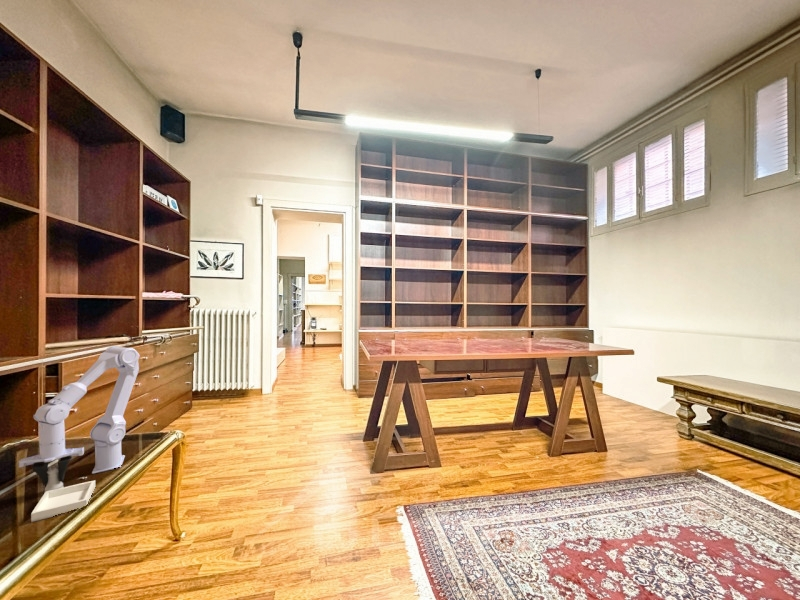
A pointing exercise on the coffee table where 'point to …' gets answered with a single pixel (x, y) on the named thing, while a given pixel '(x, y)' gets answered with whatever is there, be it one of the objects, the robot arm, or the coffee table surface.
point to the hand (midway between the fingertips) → (53, 481)
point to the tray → (63, 500)
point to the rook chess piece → (53, 479)
